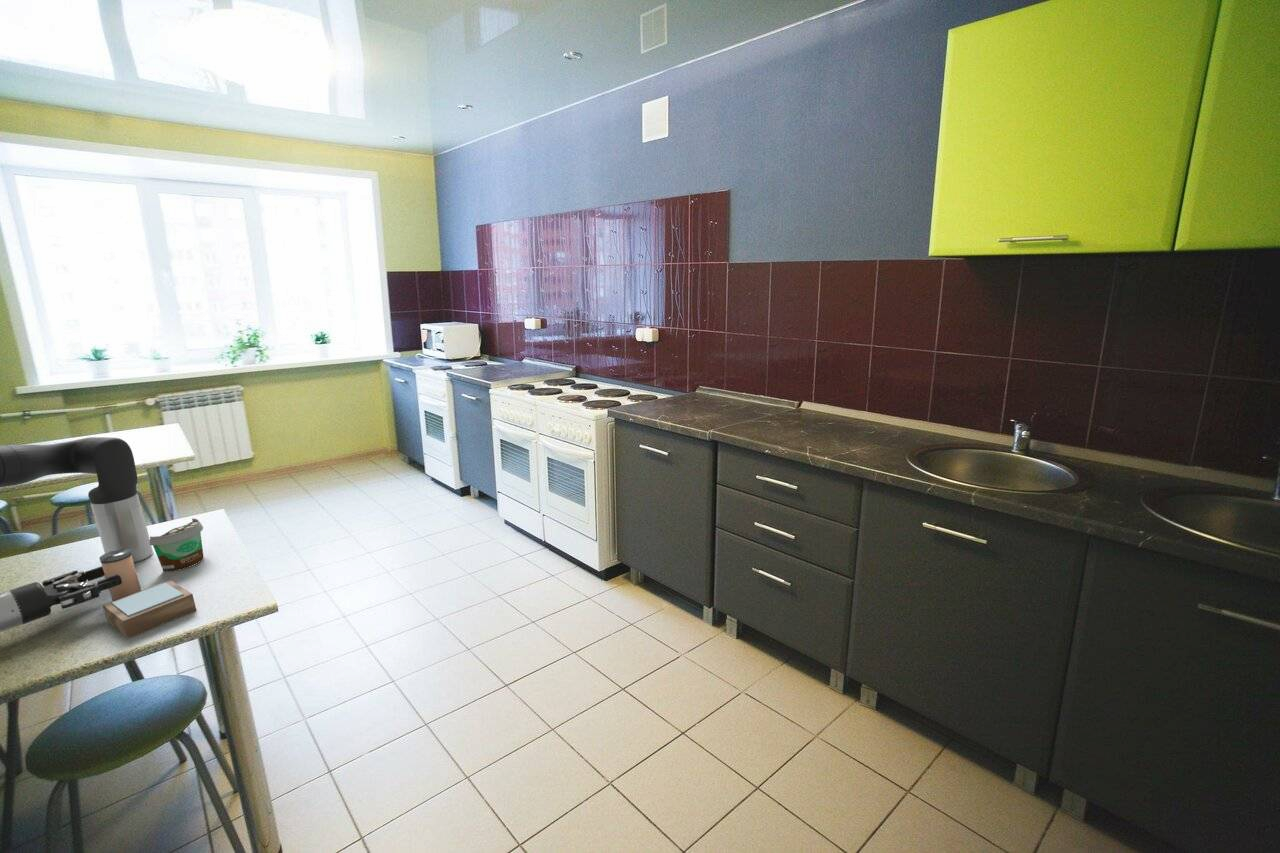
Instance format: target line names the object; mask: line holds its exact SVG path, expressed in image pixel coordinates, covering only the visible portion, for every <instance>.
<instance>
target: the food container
mask: <svg viewBox="0 0 1280 853" xmlns="http://www.w3.org/2000/svg"><path fill="white" fill-rule="evenodd" d="M203 529H204V526H203V524H202V522H200V521H199V519H197V518H191V522H189V523H186V524H184V525H182V526H178V527H174V528H172V529H169V531H167V532H165V533H163V534H161V535H158V536H149V538H150V540H149V541H150V545H151V546H153V547H152V548H153V549H154V551H155V554H156V556H157V559H158V562H159V564H160V566H161V569H162V572H167V571H168V572H175V571H174V570H176V571H180V570H179V569H181V570H184V569H187V567H188V568H190V567H189V566H191V567H192V565H193V566H195V565H197V564H199V563H200V562H199V561H201V560H202V559H203V560H204V558H203V557H204V550H203V542H202V541H203V540H202V534H201V532H202V531H203ZM203 560H202V561H203ZM202 561H201V562H202ZM198 562H199V563H198ZM196 563H197V564H196ZM194 564H195V565H194ZM183 568H184V569H183Z"/></svg>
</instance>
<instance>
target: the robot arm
mask: <svg viewBox="0 0 1280 853" xmlns="http://www.w3.org/2000/svg"><path fill="white" fill-rule="evenodd" d="M60 474H61V475H64V474H93V475H94V474H96V477H97V482H98V486H96V487H93V488H92V489H90V490H89V491H88V494H87V496H88V501H89V503H90V507H91V510H92V513H93V517H94V521H95V523H96V527H97V531H98V534H99V537H100V541H101V544H102V549H103V552H104V554H106V553H108V552H111V551H115V550H120V549H130V550H131V553H132V554H131V555H132V559H133V562H134V564H135V563H138V562H140V561H143V560H145V559H147V558H149V557H151V556H152V555H153V554H152V553H154V551H153V547H152V546H153V545H150V541H149V540H150V534H149V531H148V528H147V524H146V520H145V516H144V511H143V508H142V505H141V502H140V497H139V493H138V489H137V485H138V480H139V479H138V472H137V468H136V463H135V458H134V454H133V451H132V448H131V446H130V445H129V444H128V442H127V441H126V440H123V439H122V438H119V437H106V436H105V437H102V436H101V437H99V436H95V437H91V436H89V437H86V438H85V437H84V438H80V439H79V438H78V439H74V440H70V441H69V440H68V441H63V442H57V443H52V444H0V488H5V487H6V488H7V487H13V486H17V485H22V484H27V483H29V482H33V481H34V480H37V479H39V478H43V477H46V476H51V475H60ZM150 555H151V556H150ZM103 577H105V574H104V570H103V567H102V565H101V566H99V567H95V568H93V569H90V570H89V569H88V570H86V571H78V570H73V571H70V572H68V573H67V572H66V573H64V574H61V575H58V576H55V577H53V578H50V579H49V578H48V579H46V580H44V581H42V582H37V581H36V582H31V583H28V584H25V585H23V586H20V587H16V588H13V589H10V590H7V591H4V592H1V593H0V633H1V632H5V631H9V630H11V629H14V628H17V627H20V626H23V625H26V624H28V623H31V622H33V621H34V622H35V621H37V620H39V619H42V618H45V617H47V616H49V615H50V614H51V613H52V609H51V608H52V607H53V606H56V605H60V606H61V609H62V610H64V609H67V608H71V607H74V606H77V605H79V604H83V603H85V602H89V601H91V600H94V599H97V598H100V596H101V595H100V594H101V593H102V592H104V591H106V590H109V588H112V587H115V586H117V585H120V584H121V583H122V580H121V577H120V576H119V575H115V576H112V577H109V578H106V577H105V578H104V579H101V580H98V581H95V582H91V581H94V580H97V579H99V578H103ZM87 582H88V583H87Z"/></svg>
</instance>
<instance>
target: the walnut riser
mask: <svg viewBox="0 0 1280 853" xmlns="http://www.w3.org/2000/svg"><path fill="white" fill-rule="evenodd" d="M102 606H103V610H104V613H105V616H106V620H107V622H108V623H109V624H110V625H111V626H113V627H114V628H115V629H116V630H117V631H119V632H120V633H121V634H122V635H124V637H126V638H127V639H130V638H132V637H135V636H137V635H140V634H142V633H143V634H144V633H145V632H147V631H149V630H153V629H154V627H155V628H157V627H160V626H162V625H164V624H166V622H167V623H169V622H171V621H174V620H177V619H178V618H181V617H183V616H186V615H188V614H190V613H193V612H196V611H197V607H196V602H195V598H194V595H193V593H192V592H191V591H189V590H187V589H185V588H184V587H182V586H180V584H179V585H178V584H177V583H176V582H174V581H172V580H167V581H164V582H162V583H158V584H156V585H153V586H151V587H148V588H145V589H141V591H140V592H137V593H134V594H131V595H129V596H126V597H123V598H121V599H118V600H115V601H110V602H107V603H105V604H102ZM163 623H164V624H163ZM161 624H162V625H161ZM159 625H160V626H159ZM156 626H157V627H156Z"/></svg>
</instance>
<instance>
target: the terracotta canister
mask: <svg viewBox="0 0 1280 853" xmlns="http://www.w3.org/2000/svg"><path fill="white" fill-rule="evenodd" d="M131 554H132V553H131V550H130V549H120V550H115V551H111V552H108V553H106V554H105V553H104V554H102V555H101V556H99V562H100V563H101V566H102V567H103V570H104V574H105V576H104V577H105V579H106V578H109V577H112V576H115V575H119V576H120V577H121V580H122V583H121V584H120V585H117V586H115V587H112V588H109V589H108V590H109V594H110V597H111V600H112V601H115V600H118V599H121V598H123V597H126V596H129V595H131V594H134V593H137V592H140V591H142V589H141V584H140V581H139V578H138V574H137V571H136V567H135V563H134V562H133V559H132V555H131ZM112 601H111V602H112Z"/></svg>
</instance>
